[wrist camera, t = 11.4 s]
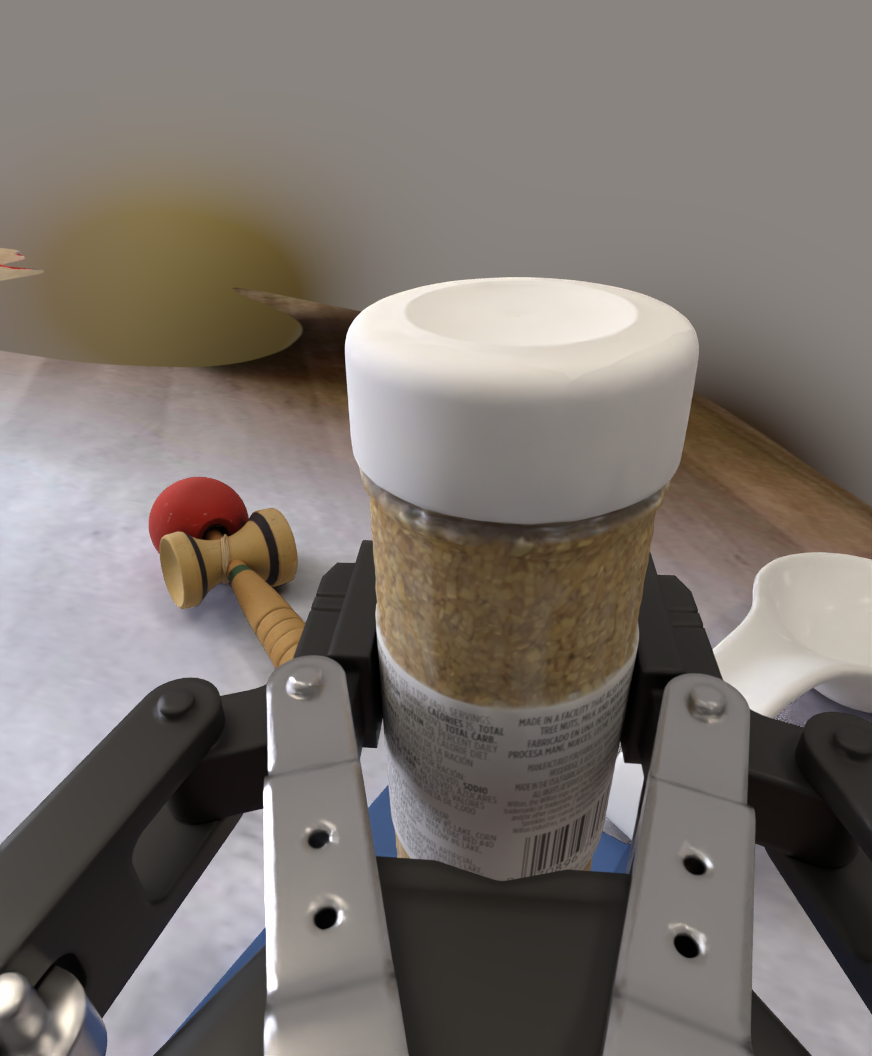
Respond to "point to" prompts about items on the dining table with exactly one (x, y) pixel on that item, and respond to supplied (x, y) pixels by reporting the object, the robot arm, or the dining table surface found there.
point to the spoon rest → (787, 649)
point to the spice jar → (512, 550)
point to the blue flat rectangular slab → (605, 858)
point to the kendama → (228, 557)
